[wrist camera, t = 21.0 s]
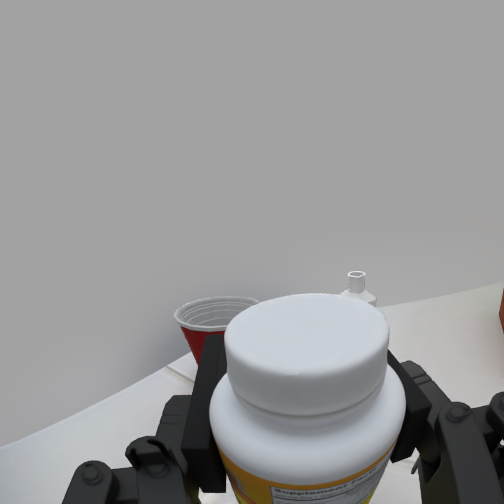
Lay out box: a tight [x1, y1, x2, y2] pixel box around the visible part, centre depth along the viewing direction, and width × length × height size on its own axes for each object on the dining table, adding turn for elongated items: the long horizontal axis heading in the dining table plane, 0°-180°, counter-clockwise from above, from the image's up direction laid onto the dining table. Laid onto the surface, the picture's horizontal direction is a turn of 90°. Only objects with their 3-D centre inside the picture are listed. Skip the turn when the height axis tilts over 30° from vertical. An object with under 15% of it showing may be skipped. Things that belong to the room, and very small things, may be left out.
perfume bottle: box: [341, 271, 377, 308], centre depth 31 cm, size 5×4×15 cm
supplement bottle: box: [209, 293, 406, 504], centre depth 8 cm, size 6×6×10 cm
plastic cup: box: [174, 296, 261, 366], centre depth 34 cm, size 11×11×12 cm
